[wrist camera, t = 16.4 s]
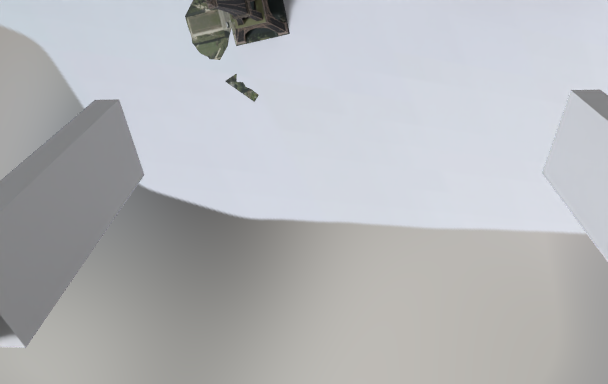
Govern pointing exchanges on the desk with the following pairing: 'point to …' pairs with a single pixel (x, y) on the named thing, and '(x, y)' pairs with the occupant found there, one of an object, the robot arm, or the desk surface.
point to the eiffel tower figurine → (234, 27)
